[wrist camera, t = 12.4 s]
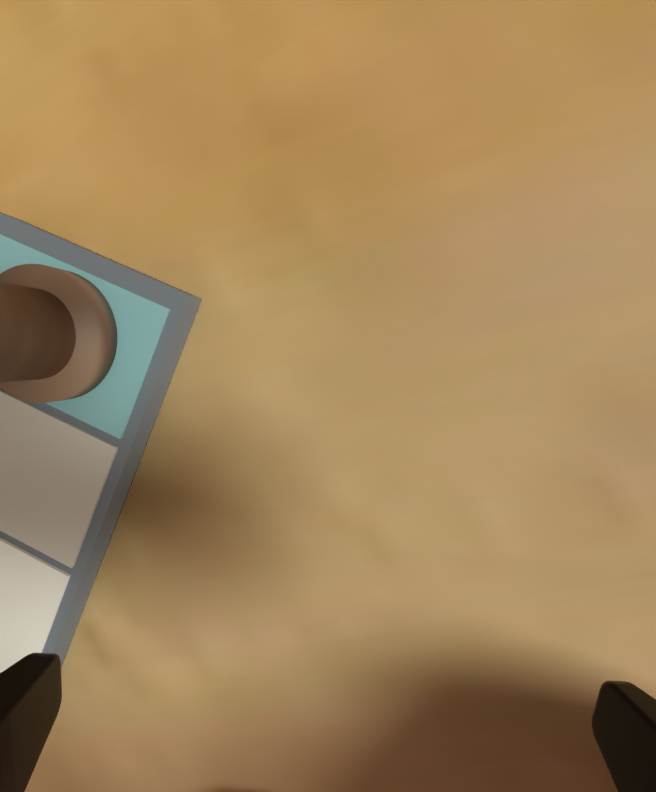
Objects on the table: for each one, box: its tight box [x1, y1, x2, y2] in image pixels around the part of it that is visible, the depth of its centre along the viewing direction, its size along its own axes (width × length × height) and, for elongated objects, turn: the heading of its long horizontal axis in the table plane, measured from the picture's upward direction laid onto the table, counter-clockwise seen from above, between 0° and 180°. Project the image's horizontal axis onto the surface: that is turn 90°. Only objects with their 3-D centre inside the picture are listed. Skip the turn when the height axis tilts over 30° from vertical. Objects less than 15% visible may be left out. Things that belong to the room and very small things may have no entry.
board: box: [0, 212, 201, 673], centre depth 20 cm, size 19×9×1 cm, turn 156°
